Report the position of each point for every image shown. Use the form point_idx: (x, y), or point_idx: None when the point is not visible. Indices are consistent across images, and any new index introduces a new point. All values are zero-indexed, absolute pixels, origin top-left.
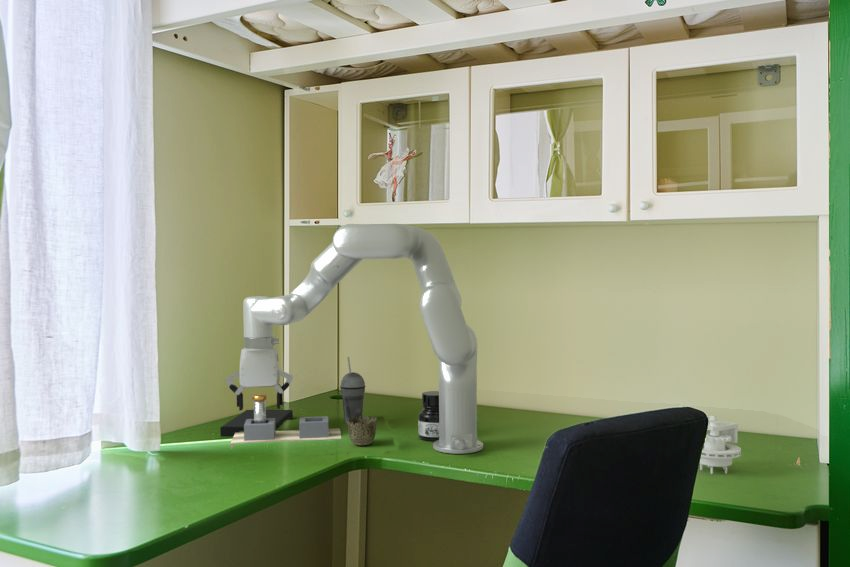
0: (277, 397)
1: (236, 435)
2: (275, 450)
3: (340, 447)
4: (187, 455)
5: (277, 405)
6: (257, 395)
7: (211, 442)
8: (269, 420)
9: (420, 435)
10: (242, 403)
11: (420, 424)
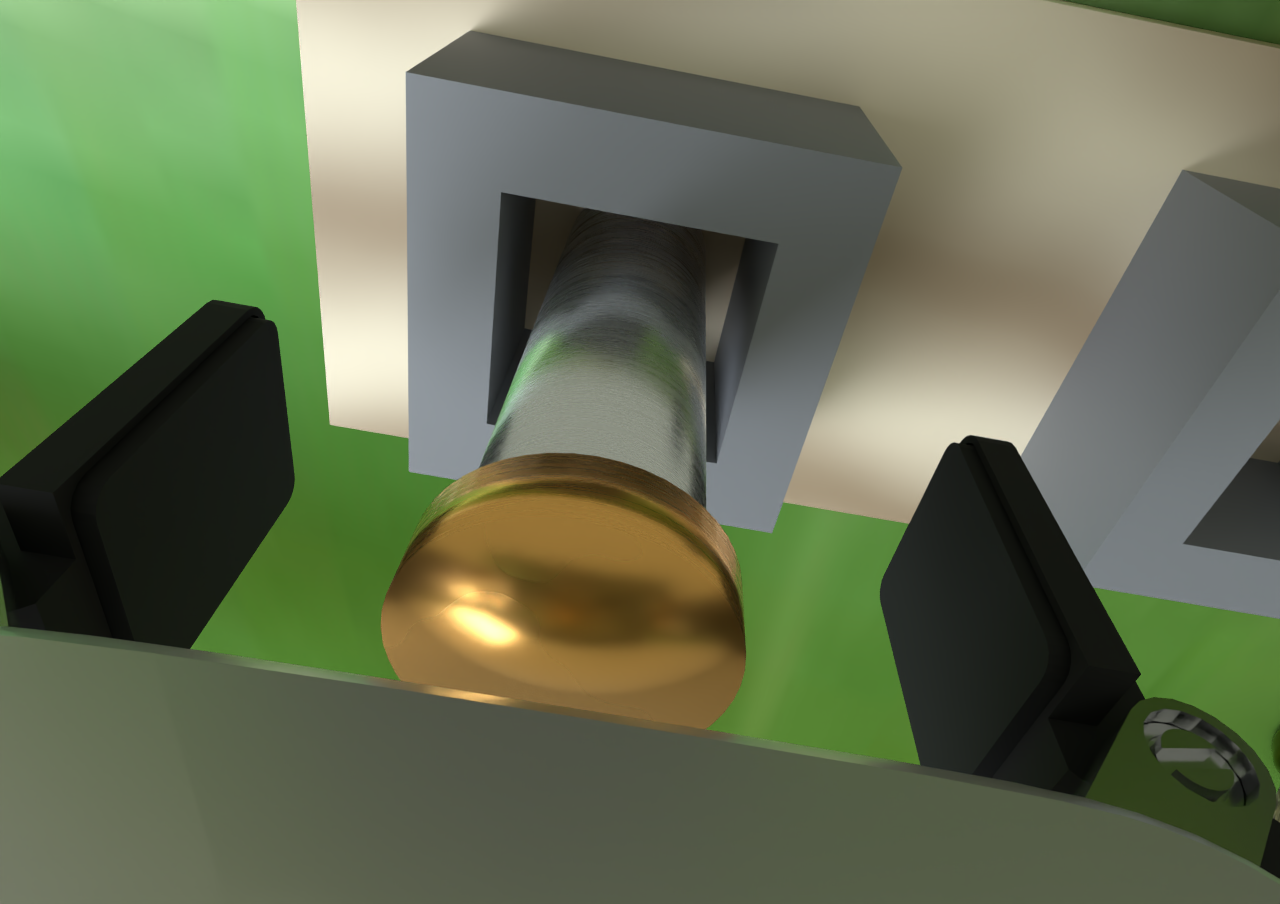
0: (932, 763)
1: (335, 71)
2: (733, 541)
3: (1247, 624)
4: (26, 452)
5: (896, 631)
6: (515, 678)
7: (52, 3)
8: (767, 316)
9: None
10: (238, 491)
11: None
